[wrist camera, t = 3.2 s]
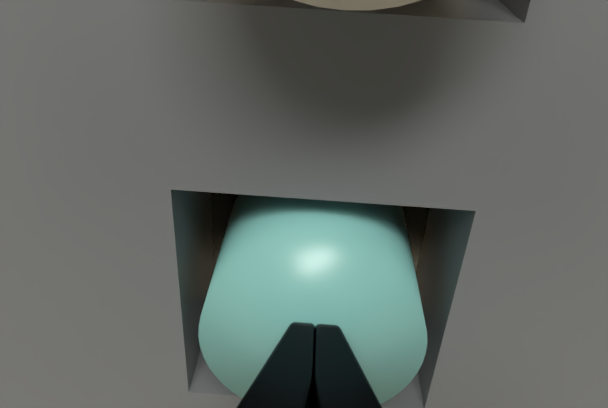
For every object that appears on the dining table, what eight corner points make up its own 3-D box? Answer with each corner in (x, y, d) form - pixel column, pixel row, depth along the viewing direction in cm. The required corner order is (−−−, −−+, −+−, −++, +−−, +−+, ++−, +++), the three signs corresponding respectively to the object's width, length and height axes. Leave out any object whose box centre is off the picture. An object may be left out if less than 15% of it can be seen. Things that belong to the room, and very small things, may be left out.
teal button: (419, 161, 11) (447, 263, 9) (392, 305, 14) (408, 425, 11) (227, 148, 12) (192, 244, 9) (231, 293, 14) (203, 409, 11)
